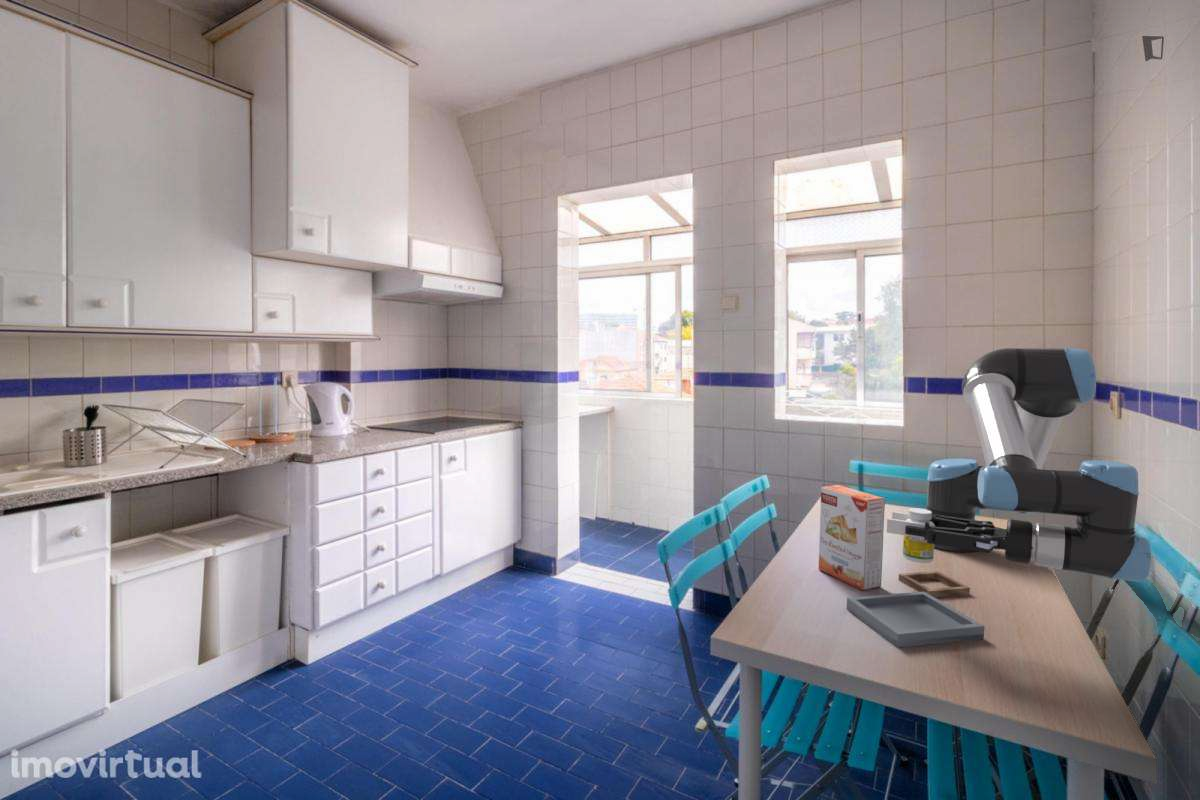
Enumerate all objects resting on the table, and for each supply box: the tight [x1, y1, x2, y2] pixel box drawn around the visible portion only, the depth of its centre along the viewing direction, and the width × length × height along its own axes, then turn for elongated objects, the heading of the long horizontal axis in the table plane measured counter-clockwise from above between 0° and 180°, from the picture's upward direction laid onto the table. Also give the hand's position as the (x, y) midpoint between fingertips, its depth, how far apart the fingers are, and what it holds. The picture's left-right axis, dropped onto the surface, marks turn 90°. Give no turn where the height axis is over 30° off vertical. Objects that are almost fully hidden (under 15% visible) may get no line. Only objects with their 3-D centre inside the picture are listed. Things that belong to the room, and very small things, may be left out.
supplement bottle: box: [902, 507, 935, 564], centre depth 117 cm, size 5×5×10 cm
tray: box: [846, 591, 986, 648], centre depth 119 cm, size 18×16×2 cm
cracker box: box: [818, 484, 886, 591], centre depth 140 cm, size 14×6×21 cm, turn 23°
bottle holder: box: [898, 570, 971, 598], centre depth 136 cm, size 10×10×2 cm
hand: (890, 521), depth 120 cm, fingers closed on supplement bottle, 5 cm apart
